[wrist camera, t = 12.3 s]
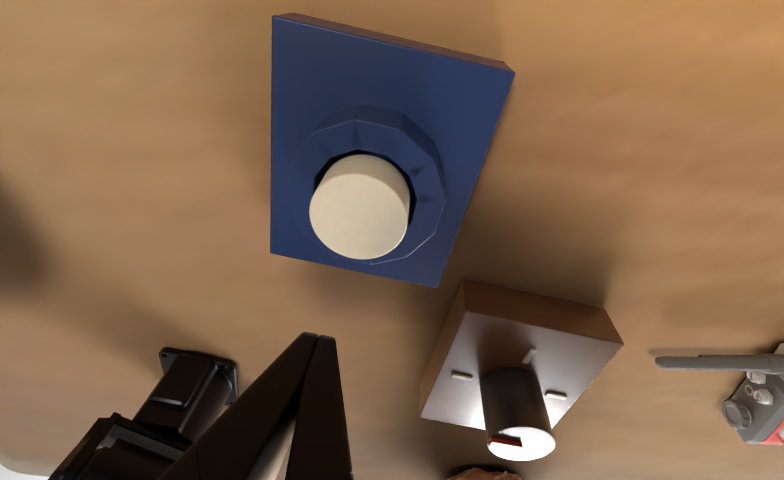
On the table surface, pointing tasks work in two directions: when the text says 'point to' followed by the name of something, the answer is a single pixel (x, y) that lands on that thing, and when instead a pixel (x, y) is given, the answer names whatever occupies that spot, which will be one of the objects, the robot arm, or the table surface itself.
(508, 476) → the decorative rock
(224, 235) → the table surface
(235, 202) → the table surface
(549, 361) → the dial panel
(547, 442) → the dial
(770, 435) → the walkie-talkie
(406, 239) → the button housing
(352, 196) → the cap
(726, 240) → the table surface
